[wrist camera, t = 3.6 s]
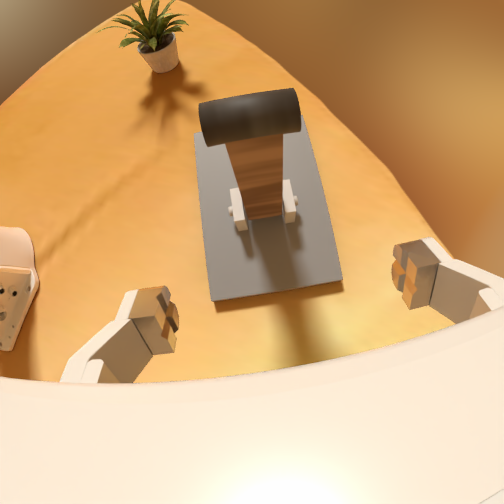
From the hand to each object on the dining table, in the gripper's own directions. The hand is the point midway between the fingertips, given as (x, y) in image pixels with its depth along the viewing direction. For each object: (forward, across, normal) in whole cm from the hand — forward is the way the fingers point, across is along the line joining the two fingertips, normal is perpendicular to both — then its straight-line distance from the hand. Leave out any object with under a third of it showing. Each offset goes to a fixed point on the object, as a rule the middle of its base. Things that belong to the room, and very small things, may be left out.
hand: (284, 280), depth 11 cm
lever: (+26, 0, +8) cm, 27 cm away
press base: (+29, 0, +10) cm, 31 cm away
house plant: (+51, +14, -12) cm, 55 cm away
